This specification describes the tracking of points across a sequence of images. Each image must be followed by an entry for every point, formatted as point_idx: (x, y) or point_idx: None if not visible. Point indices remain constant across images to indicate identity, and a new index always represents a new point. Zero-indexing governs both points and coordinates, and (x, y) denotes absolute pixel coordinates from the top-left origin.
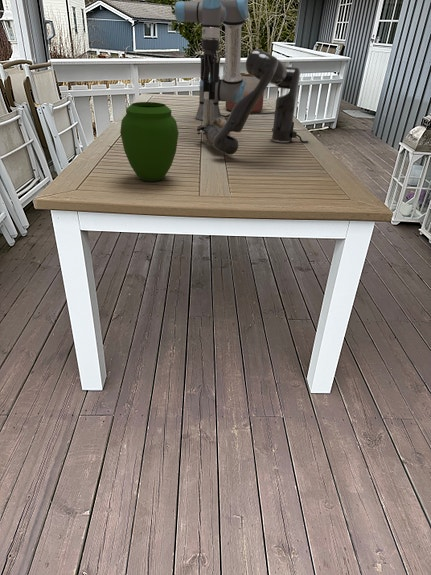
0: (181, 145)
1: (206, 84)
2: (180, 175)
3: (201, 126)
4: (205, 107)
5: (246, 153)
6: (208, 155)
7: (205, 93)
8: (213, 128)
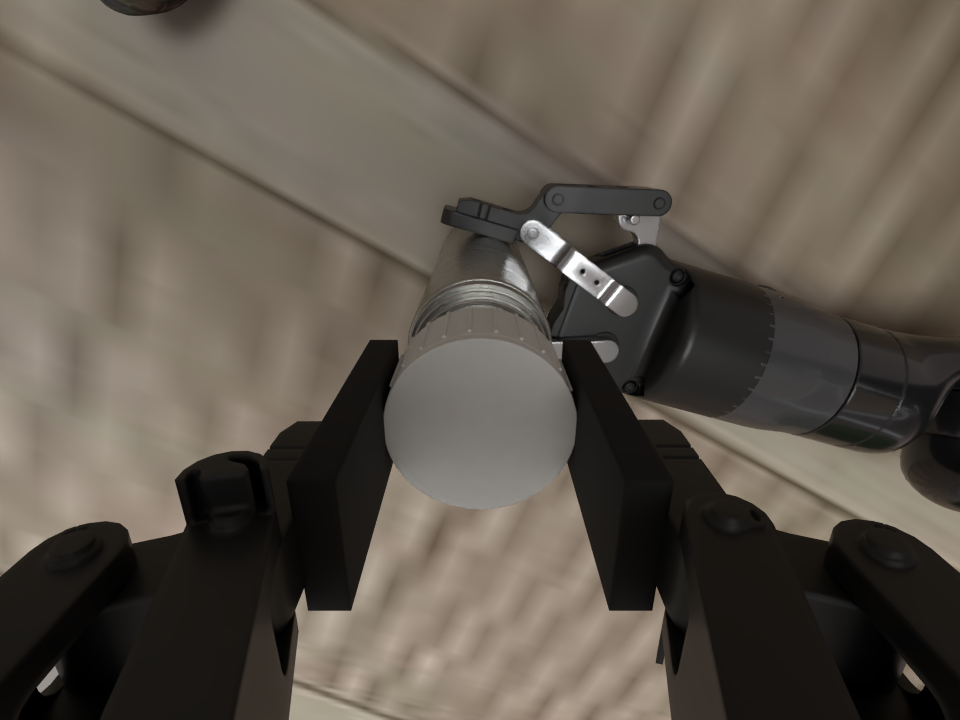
0: None
1: (356, 519)
2: None
3: None
4: None
5: (890, 152)
6: None
7: (507, 500)
8: (789, 418)
